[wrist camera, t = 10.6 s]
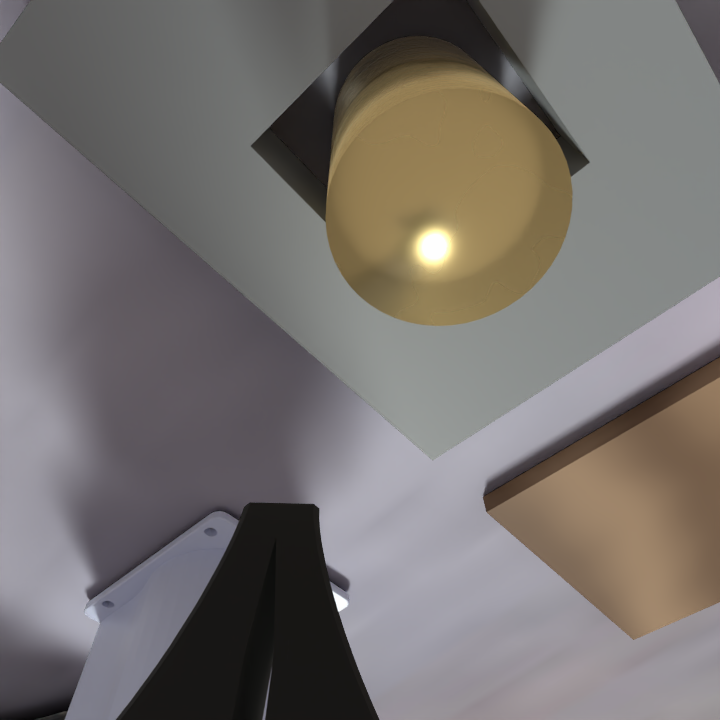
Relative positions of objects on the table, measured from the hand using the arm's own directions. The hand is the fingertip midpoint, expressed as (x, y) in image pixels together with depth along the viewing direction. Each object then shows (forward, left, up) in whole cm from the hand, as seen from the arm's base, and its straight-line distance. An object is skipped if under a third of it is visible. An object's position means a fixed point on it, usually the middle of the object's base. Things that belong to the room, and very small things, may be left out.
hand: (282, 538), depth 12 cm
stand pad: (+5, -17, -9) cm, 20 cm away
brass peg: (+6, +2, -9) cm, 11 cm away
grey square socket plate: (+6, +2, -9) cm, 11 cm away
